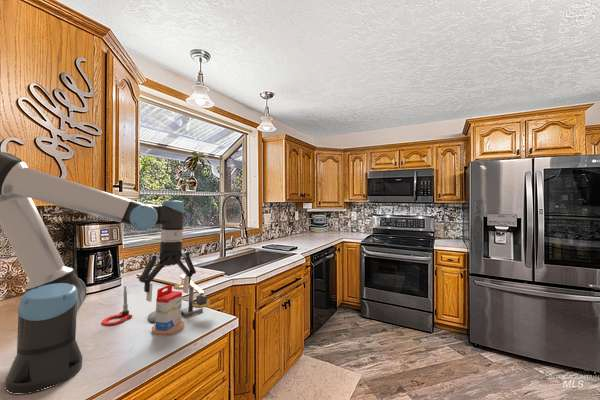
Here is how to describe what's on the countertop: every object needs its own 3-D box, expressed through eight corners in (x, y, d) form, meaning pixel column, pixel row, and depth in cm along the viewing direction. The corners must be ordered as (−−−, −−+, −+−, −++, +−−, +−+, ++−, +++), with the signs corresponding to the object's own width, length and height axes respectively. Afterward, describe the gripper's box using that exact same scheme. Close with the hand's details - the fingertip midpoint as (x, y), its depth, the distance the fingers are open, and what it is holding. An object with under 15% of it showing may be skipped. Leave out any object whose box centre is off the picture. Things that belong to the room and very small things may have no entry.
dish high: (154, 325, 102) (154, 322, 102) (143, 317, 109) (143, 314, 109) (182, 316, 111) (182, 313, 111) (170, 309, 118) (170, 306, 118)
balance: (196, 324, 104) (197, 287, 105) (168, 307, 120) (170, 275, 120) (214, 317, 110) (215, 282, 111) (185, 302, 126) (187, 272, 126)
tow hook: (110, 328, 100) (134, 318, 108) (109, 295, 99) (133, 287, 108) (96, 324, 103) (121, 314, 112) (96, 291, 103) (120, 284, 111)
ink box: (166, 331, 95) (167, 290, 96) (154, 329, 96) (156, 289, 97) (181, 321, 104) (182, 284, 104) (170, 319, 105) (171, 283, 105)
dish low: (159, 339, 92) (159, 335, 92) (147, 328, 99) (147, 325, 99) (189, 328, 101) (189, 325, 101) (176, 319, 108) (176, 316, 108)
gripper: (139, 244, 89) (135, 307, 88) (206, 239, 108) (203, 291, 107) (131, 241, 93) (127, 301, 93) (197, 237, 113) (194, 287, 112)
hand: (168, 296), depth 100 cm, fingers open, 13 cm apart
